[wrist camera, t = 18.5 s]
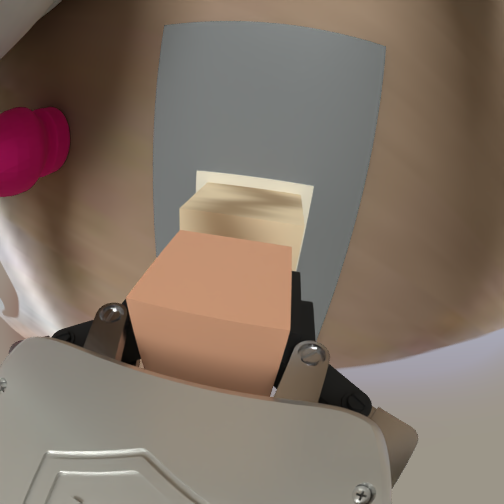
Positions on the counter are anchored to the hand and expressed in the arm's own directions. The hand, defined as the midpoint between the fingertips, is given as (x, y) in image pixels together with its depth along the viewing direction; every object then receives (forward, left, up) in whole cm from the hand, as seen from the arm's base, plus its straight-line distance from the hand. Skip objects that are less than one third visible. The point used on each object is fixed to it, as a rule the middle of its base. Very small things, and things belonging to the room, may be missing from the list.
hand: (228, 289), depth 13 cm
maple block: (0, 0, -7) cm, 7 cm away
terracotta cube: (0, 0, 0) cm, 0 cm away
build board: (0, -1, -8) cm, 8 cm away
